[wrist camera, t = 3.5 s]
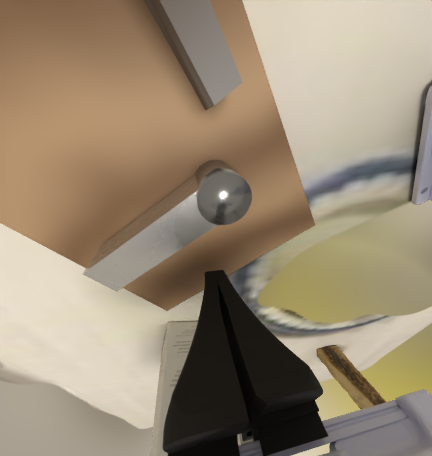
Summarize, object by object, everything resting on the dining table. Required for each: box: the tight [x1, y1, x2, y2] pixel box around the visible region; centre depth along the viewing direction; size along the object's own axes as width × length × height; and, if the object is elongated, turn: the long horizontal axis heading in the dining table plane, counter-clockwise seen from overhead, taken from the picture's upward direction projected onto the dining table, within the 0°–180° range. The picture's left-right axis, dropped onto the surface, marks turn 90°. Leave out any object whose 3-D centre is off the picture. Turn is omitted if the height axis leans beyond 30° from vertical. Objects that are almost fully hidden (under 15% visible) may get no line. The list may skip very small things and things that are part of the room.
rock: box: [317, 346, 386, 410], centre depth 33 cm, size 11×9×10 cm
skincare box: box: [150, 321, 241, 456], centre depth 14 cm, size 8×7×16 cm
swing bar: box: [83, 160, 252, 291], centre depth 9 cm, size 9×2×3 cm, turn 123°
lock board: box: [0, 0, 315, 311], centre depth 9 cm, size 17×15×4 cm
